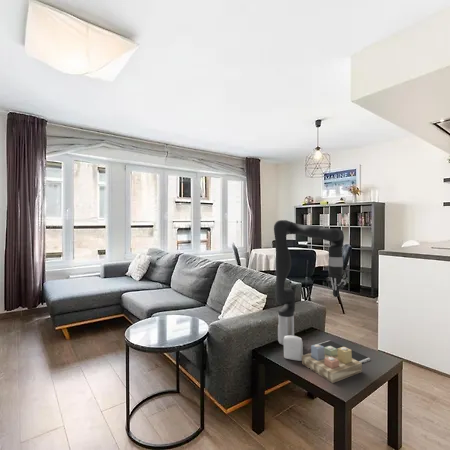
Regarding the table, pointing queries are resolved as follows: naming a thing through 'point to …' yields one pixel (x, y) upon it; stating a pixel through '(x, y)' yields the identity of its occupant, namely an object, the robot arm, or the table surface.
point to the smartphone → (355, 355)
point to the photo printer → (293, 348)
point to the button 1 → (317, 352)
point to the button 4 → (344, 355)
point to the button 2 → (330, 351)
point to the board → (329, 373)
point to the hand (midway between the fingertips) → (336, 296)
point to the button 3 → (331, 362)
